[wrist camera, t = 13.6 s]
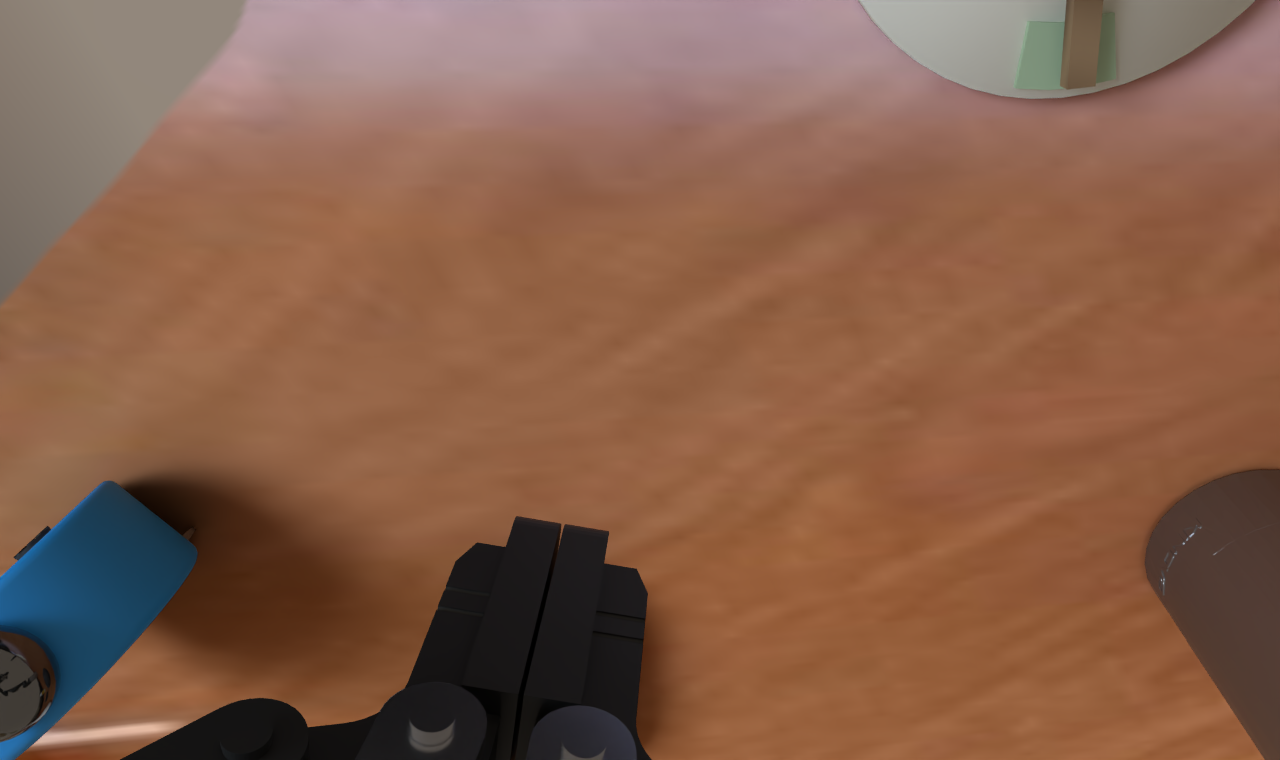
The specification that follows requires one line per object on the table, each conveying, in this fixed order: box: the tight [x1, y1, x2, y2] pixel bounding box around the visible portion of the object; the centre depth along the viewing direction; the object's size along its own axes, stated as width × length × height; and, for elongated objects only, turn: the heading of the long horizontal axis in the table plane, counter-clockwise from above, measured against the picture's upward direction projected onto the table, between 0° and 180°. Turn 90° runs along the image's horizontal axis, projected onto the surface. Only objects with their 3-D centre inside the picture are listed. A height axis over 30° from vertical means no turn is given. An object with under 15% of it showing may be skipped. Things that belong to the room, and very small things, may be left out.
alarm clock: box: [0, 481, 198, 760], centre depth 43 cm, size 13×6×15 cm, turn 131°
